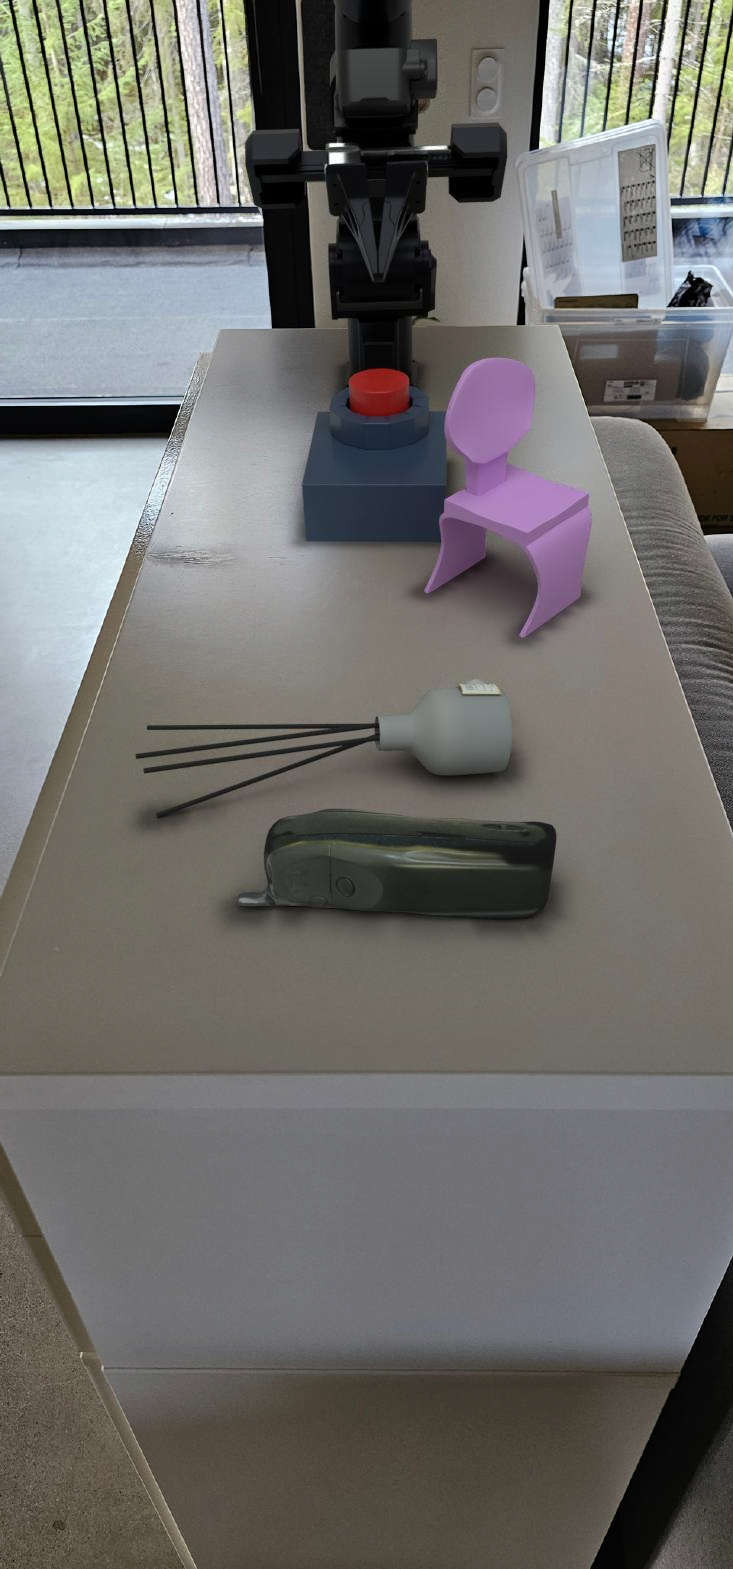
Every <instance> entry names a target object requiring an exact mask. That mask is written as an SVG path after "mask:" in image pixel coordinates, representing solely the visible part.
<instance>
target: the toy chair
mask: <svg viewBox="0 0 733 1569" xmlns="http://www.w3.org/2000/svg"><path fill="white" fill-rule="evenodd" d="M535 398H536V378H535V374H534V373H533V371H532V369H531V368H530V367H529V366H528V365H527V364H525V363H522V362H521V361H518V360H516V359H512V358H506V357H488V358H482V359H479V360H477V361H474V362H473V363H470V364H469V365H468V366H467V367H466V368H465V370H463V372H462V373H461V375H460V377H459V379H458V381H457V383H456V384H455V388H454V390H453V391H452V394H451V397H450V400H449V401H448V402H449V403H448V405H447V409H446V411H447V412H446V418H445V426H444V432H445V438H446V441H447V445H448V447H449V448H450V449H451V450H452V451H454V452H455V453H456V454H457V455H459V456H460V457H462V458H463V459H464V470H465V471H464V472H465V473H464V474H465V485H466V486H465V488H463V489H461V490H458V491H457V492H455V493H454V494H452V495H450V496H448V497H446V499H445V500H444V513H443V514H441V516H440V518H439V525H440V532H441V542H440V550H439V554H438V557H437V561H436V563H435V566H434V569H433V571H432V573H431V575H430V577H429V579H428V581H427V584H426V586H425V587H424V591H423V592H424V593H425V594H427V595H429V594H430V593H432V592H433V591H435V590H436V589H439V588H440V587H442V586H443V585H445V584H446V583H448V582H450V581H451V580H452V579H454V578H456V577H457V576H458V575H460V574H462V573H463V572H465V571H466V570H468V569H469V568H471V567H473V566H474V565H475V564H478V563H479V562H480V561H482V560H483V559H485V558H486V557H487V549H486V536H487V535H486V534H487V530H489V531H491V532H493V533H495V534H497V535H499V536H501V537H502V538H504V539H506V540H507V541H510V542H513V543H514V544H516V545H518V546H519V547H520V548H521V549H522V550H523V551H524V552H525V553H526V556H527V558H528V559H529V562H530V564H531V566H532V569H533V571H534V574H535V576H536V582H537V594H536V598H535V602H534V603H533V606H532V609H531V610H530V614H529V616H528V617H527V620H526V621H525V623H524V626H523V627H522V629H521V631H520V633H519V634H518V636H519V638H522V639H524V638H526V637H527V636H529V635H530V634H532V632H534V631H535V630H537V629H538V628H540V627H541V626H542V625H544V624H545V623H547V622H548V621H549V620H551V619H552V618H554V617H555V616H556V615H557V614H559V613H560V612H562V611H563V610H565V609H566V608H567V607H568V606H571V604H572V603H574V602H575V601H577V600H578V599H580V598H581V596H582V595H581V593H582V592H581V591H582V581H583V572H584V566H585V561H586V556H587V551H588V547H589V541H590V536H591V532H592V526H593V525H592V524H593V515H592V512H591V509H590V508H589V499H590V492H588V491H587V492H586V491H584V490H581V489H578V488H575V487H573V486H570V485H566V484H563V483H558V482H555V481H552V480H550V479H547V478H544V477H541V476H539V475H537V474H534V473H533V472H530V471H529V470H526V469H524V468H521V467H519V466H515V465H513V464H510V463H507V462H508V461H507V460H508V456H509V451H511V450H512V449H513V448H515V447H516V446H517V445H518V444H519V443H520V441H522V439H523V438H525V436H526V435H527V434H528V433H529V431H530V430H531V426H532V418H533V414H534V407H535Z"/></svg>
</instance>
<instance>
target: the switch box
mask: <svg viewBox="0 0 733 1569" xmlns="http://www.w3.org/2000/svg"><path fill="white" fill-rule="evenodd" d="M328 409H329V410H328V411H317V413H316V418H315V423H314V428H313V430H312V431H313V432H312V437H311V441H310V446H309V450H308V451H309V452H308V455H307V460H306V464H305V469H304V473H303V478H302V481H301V482H302V483H301V491H302V492H301V493H302V504H303V519H304V520H303V521H304V532H305V542H342V543H343V542H344V543H345V542H350V543H351V542H353V543H355V542H358V543H359V542H360V543H361V542H365V543H366V542H368V543H369V542H370V543H371V542H372V543H376V542H378V543H379V542H382V543H383V542H384V543H385V542H386V543H388V542H389V543H393V542H395V543H397V542H398V543H399V542H400V543H410V542H411V543H413V542H414V543H441V532H440V525H439V518H440V516H441V514H443V513H444V500H445V499H447V448H448V446H447V445H448V443H447V441H446V438H445V432H444V426H445V418H446V412H447V410H430V396H429V395H428V394H426V393H425V392H423V391H422V390H421V389H419V388H418V387H417V386H416V387H412V386H409V409H408V410H406V411H405V412H403V413H399V414H395V415H391V416H387V417H368V416H364V415H360V414H356V413H353V412H352V411H351V409H350V396H349V387H348V388H345V389H344V390H343V389H342V390H340V391H339V392H337V393H335V394H334V395H333V396H331V398H330V403H329V408H328Z"/></svg>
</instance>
